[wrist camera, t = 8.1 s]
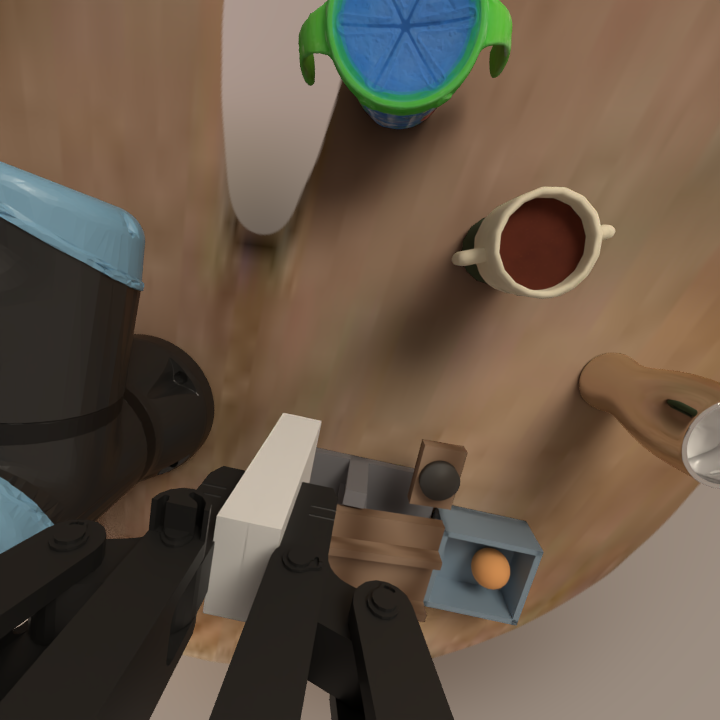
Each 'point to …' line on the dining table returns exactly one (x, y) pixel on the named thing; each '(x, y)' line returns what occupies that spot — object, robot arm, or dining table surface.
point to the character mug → (535, 244)
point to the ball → (490, 568)
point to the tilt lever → (400, 530)
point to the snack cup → (405, 51)
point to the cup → (456, 551)
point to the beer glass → (660, 411)
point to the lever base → (366, 482)
